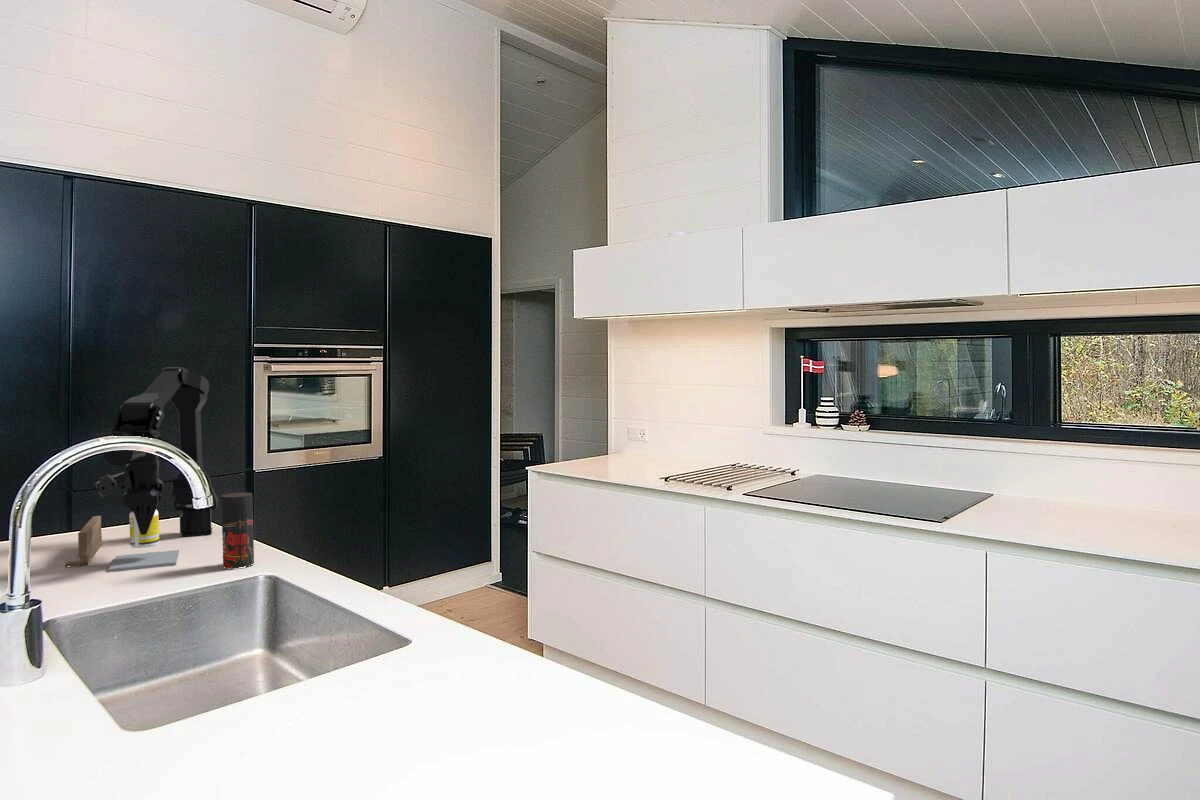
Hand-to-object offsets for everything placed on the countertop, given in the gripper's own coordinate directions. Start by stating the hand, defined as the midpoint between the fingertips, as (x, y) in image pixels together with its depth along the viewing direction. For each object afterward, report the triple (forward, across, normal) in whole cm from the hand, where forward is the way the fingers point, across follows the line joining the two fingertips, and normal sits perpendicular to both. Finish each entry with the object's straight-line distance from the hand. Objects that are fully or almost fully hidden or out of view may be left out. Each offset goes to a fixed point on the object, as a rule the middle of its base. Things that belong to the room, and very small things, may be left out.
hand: (145, 531), depth 164 cm
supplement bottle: (+3, 0, 0) cm, 3 cm away
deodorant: (+7, +12, +18) cm, 23 cm away
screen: (+7, -12, -13) cm, 19 cm away
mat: (+6, 0, 0) cm, 7 cm away
